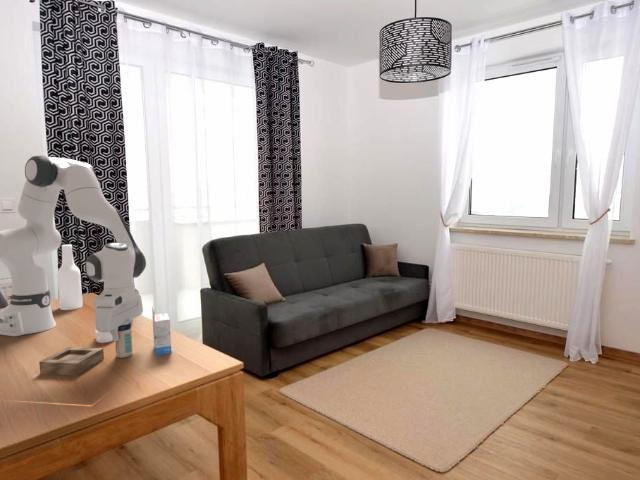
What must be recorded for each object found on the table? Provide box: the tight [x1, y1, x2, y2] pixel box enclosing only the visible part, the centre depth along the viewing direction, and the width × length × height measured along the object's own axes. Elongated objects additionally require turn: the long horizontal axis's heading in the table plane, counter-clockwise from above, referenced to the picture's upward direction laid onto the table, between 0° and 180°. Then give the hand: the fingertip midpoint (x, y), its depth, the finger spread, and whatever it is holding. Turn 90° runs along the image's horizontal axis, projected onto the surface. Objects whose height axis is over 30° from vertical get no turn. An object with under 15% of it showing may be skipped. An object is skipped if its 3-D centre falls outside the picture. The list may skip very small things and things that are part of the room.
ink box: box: [151, 306, 172, 356], centre depth 141 cm, size 8×5×15 cm, turn 26°
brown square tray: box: [38, 346, 105, 377], centre depth 129 cm, size 12×12×4 cm
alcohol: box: [56, 243, 84, 311], centre depth 190 cm, size 9×9×30 cm
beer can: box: [114, 319, 133, 359], centre depth 136 cm, size 5×5×12 cm
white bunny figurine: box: [94, 328, 114, 344], centre depth 151 cm, size 6×8×12 cm
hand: (122, 336), depth 136 cm, fingers closed on beer can, 5 cm apart
